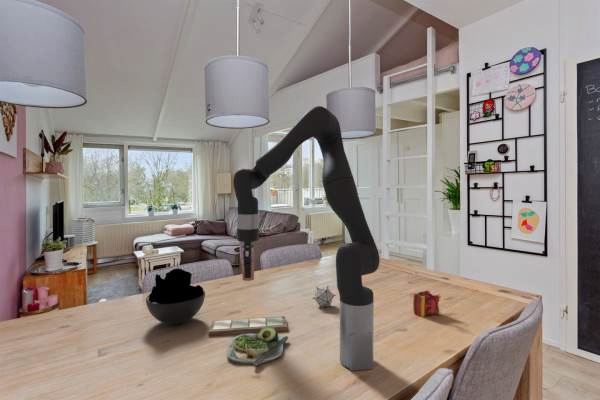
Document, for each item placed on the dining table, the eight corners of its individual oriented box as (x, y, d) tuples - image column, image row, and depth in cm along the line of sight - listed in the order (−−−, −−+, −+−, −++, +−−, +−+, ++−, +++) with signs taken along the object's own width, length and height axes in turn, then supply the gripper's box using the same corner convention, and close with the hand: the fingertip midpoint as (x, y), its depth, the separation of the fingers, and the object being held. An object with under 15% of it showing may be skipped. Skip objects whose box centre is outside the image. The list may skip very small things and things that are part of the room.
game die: (327, 316, 133) (333, 302, 127) (308, 308, 134) (313, 293, 128) (333, 300, 140) (339, 285, 134) (315, 292, 141) (320, 277, 135)
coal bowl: (203, 308, 132) (202, 262, 132) (208, 328, 114) (207, 274, 113) (148, 316, 125) (147, 267, 124) (144, 338, 107) (142, 281, 106)
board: (287, 330, 111) (287, 325, 111) (208, 336, 108) (208, 331, 108) (285, 320, 120) (285, 315, 120) (212, 324, 117) (212, 320, 117)
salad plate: (285, 371, 87) (285, 354, 87) (218, 371, 88) (218, 354, 87) (289, 338, 107) (288, 324, 107) (234, 338, 107) (233, 324, 107)
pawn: (254, 280, 113) (254, 249, 112) (241, 281, 112) (241, 249, 112) (254, 277, 117) (254, 247, 116) (242, 277, 117) (242, 247, 116)
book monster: (429, 308, 131) (450, 322, 119) (409, 311, 129) (428, 325, 117) (430, 282, 130) (451, 293, 118) (409, 284, 128) (428, 296, 116)
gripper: (258, 229, 107) (258, 281, 108) (259, 224, 121) (259, 270, 122) (235, 229, 106) (235, 282, 107) (238, 224, 120) (238, 270, 121)
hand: (248, 275), depth 115 cm, fingers closed on pawn, 4 cm apart
